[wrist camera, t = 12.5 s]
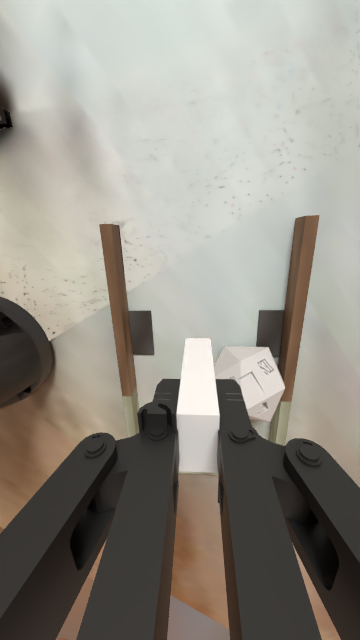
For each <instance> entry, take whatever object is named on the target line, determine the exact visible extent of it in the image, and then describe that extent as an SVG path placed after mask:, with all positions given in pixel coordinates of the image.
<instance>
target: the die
mask: <svg viewBox="0 0 360 640" xmlns="http://www.w3.org/2000/svg"><path fill="white" fill-rule="evenodd" d="M214 373H215V379H234V380H235V381H236V382H237V383H238V384H239V385H240V387H241V391H242V395H243V398H244V401H245V405H246V408H247V412H248V415H249V419H252V420H259V421H266V422H270V421H271V419H272V417H273V414H274V412H275V410H276V408H277V405H278V403H279V401H280V399H281V396H282V394H283V392H284V390H285V385H284V382H283V379H282V377H281V374H280V372H279V370H278V368H277V365H276V363H275V361H274V359H273V356H272V354H271V352H270V350H269V347H236V346H224V348H223V350H222V352H221V354H220V356H219V358H218V360H217V361H216V363H215V365H214Z"/></svg>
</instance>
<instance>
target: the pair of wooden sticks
mask: <svg viewBox="0 0 360 640" xmlns="http://www.w3.org/2000/svg"><path fill="white" fill-rule="evenodd" d="M318 221H319V215H315V216H303V217H299V218H296V221H295V229H294V237H293V246H292V254H291V262H290V271H289V279H288V287H287V295H286V304H285V312H284V310H259V322H258V334H257V346H256V347H269V350H270V352H271V354H272V356H277V357H279V362H278V370H279V372H280V374H281V377H282V379H283V382H284V385H285V390H284V392H283V394H282V396H281V399H280V401H279V403H278V405H277V408H276V410H275V412H274V414H273V417H272V420H271V428H270V436H269V441H270V442H273V443H276V444H280V445H283V446H285V441H286V434H287V427H288V421H289V414H290V407H291V401H292V394H293V387H294V381H295V374H296V367H297V361H298V354H299V348H300V341H301V334H302V328H303V321H304V314H305V308H306V301H307V294H308V288H309V281H310V275H311V268H312V261H313V255H314V248H315V241H316V235H317V228H318ZM100 232H101V240H102V247H103V255H104V262H105V270H106V277H107V285H108V292H109V300H110V307H111V315H112V322H113V329H114V337H115V344H116V352H117V359H118V367H119V374H120V382H121V389H122V397H123V404H124V412H125V419H126V427H127V434H128V438H129V437H132V436H134V435H136V434H138V433H139V426H138V417H137V413H138V411H139V404H138V395H137V386H136V377H135V367H134V358H133V354H148V355H154V345H153V332H152V318H151V311H129V312H128V303H127V294H126V284H125V275H124V266H123V257H122V247H121V238H120V229H119V225H113V224H100ZM283 318H284V320H283ZM129 319H130V321H129ZM282 326H283V329H282ZM130 328H131V331H130ZM281 335H282V337H281ZM131 338H132V340H131ZM280 343H281V345H280ZM132 347H133V349H132ZM279 351H280V353H279ZM178 473H190V474H205V475H218V473H207V472H186V471H179V472H178Z"/></svg>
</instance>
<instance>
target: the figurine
mask: <svg viewBox="0 0 360 640" xmlns="http://www.w3.org/2000/svg"><path fill="white" fill-rule="evenodd" d="M10 127H13V125H12V121H11V116H10V112H8V111H6V110H5V109H3V108H1V107H0V129H3V128H10Z"/></svg>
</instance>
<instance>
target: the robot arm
mask: <svg viewBox="0 0 360 640" xmlns="http://www.w3.org/2000/svg"><path fill="white" fill-rule="evenodd" d="M51 368H52V350H51V346H50V343H49V340H48V338H47V336H46V334H45V332H44V330H43V329H42V327H41V326H40V325H39V323H38V322H37V321H36V320H35V319H34V318H33V316H32V315H30V314H29V313H28V312H27V311H26V310H25V309H23V308H22V307H21V306H19V305H17V304H16V303H14V302H12V301H10V300H8V299H5V298H3V297H0V409H2V408H5V407H7V406H9V405H12V404H14V403H16V402H18V401H21V400H23V399H25V398H26V397H28V396H30V395H31V394H32V393H33V392H35V391H36V390H37V389H38V388H39V387H40V386H41V385H42V384H43V383H44V382H45V381H46V380H47V378H48V376H49V374H50V372H51ZM137 417H138V426H139V433H138V434H136V435H134V436H132V437H129V438H125V439H121V440H117V441H115V439H114V437H113V436H112V435H110V434H108V433H96V434H92V435H90V436H88V437H86V438H85V439H84V440H82V441H81V442H80V443H79V444H78V445H77V446H76V448H75V449H74V450H73V451H72V452H71V453H70V454H69V456H68V457H67V458H66V459H65V460H64V461H63V463H62V464H61V465H60V466H59V467H58V468H57V469H56V471H55V472H54V473H53V474H52V475H51V476H50V477H49V479H48V480H47V481H46V482H45V483H44V484H43V485H42V487H41V488H40V489H39V490H38V491H37V492H36V494H35V495H34V496H33V497H32V498H31V499H30V500H29V502H28V503H27V504H26V505H25V506H24V507H23V508H22V510H21V511H20V512H19V513H18V514H17V515H16V516H15V518H14V519H13V520H12V521H11V522H10V523H9V525H8V526H7V527H6V528H5V529H4V530H3V532H2V533H1V534H0V640H55V639H56V638H57V636H58V634H59V632H60V630H61V627H62V625H63V624H64V621H65V619H66V618H67V616H68V614H69V612H70V610H71V608H72V606H73V604H74V602H75V600H76V598H77V596H78V594H79V592H80V590H81V588H82V586H83V584H84V582H85V580H86V578H87V576H88V574H89V572H90V570H91V568H92V566H93V564H94V562H95V560H96V558H97V556H98V554H99V552H100V550H101V548H102V546H103V544H104V542H105V541H106V544H105V547H104V550H103V554H102V557H101V560H100V563H99V567H98V570H97V573H96V577H95V580H94V583H93V587H92V590H91V593H90V597H89V600H88V604H87V607H86V610H85V613H84V616H83V620H82V623H81V626H80V630H79V633H78V636H77V640H167V631H168V618H169V605H170V592H171V579H172V566H173V553H174V540H175V526H176V513H177V500H178V487H179V485H178V472H179V471H186V472H207V473H218V475H219V483H218V503H220V515H221V528H222V541H223V553H224V566H225V579H226V591H227V604H228V617H229V629H230V640H322V639H321V636H320V632H319V629H318V626H317V623H316V619H315V616H314V613H313V610H312V606H311V603H310V600H309V597H308V593H307V590H306V587H305V584H304V580H303V577H302V574H301V571H300V567H299V564H298V561H297V558H296V554H295V551H294V548H293V545H294V547H295V549H296V551H297V553H298V555H299V557H300V559H301V561H302V563H303V565H304V567H305V569H306V571H307V573H308V575H309V577H310V579H311V581H312V583H313V585H314V587H315V589H316V591H317V593H318V594H319V596H320V598H321V600H322V602H323V604H324V606H325V608H326V610H327V612H328V614H329V616H330V618H331V620H332V622H333V624H334V626H335V628H336V630H337V632H338V634H339V636H340V638H341V640H360V488H359V487H358V486H357V484H356V483H355V482H354V481H353V480H352V479H351V478H350V477H349V475H348V474H347V473H346V472H345V471H344V470H343V469H342V468H341V467H340V465H339V464H338V463H337V462H336V461H335V460H334V459H333V458H332V456H331V455H330V454H329V453H328V452H327V451H326V450H325V449H324V448H322V447H321V446H320V445H318V444H316V443H314V442H313V441H310V440H306V439H298V438H295V439H292V440H290V441H289V442H288V443H287V444H286V446H283V445H280V444H276V443H273V442H270V441H268V440H266V439H264V438H262V437H261V436H259V435H258V433H257V431H256V430H255V429H254V428H253V427H252V425H251V422H250V419H249V415H248V412H247V408H246V405H245V401H244V398H243V395H242V391H241V387H240V385H239V384H238V383H237V382H236V381H235V380H234V379H215V373H214V365H213V357H212V349H211V341H210V338H186V341H185V349H184V357H183V365H182V373H181V379H162V381H161V382H160V383H159V384H158V385H157V388H156V391H155V395H154V399H153V402H150V403H148V404H145V405H144V406H143V407H141V408H140V409H139V411H138V413H137ZM106 539H107V540H106ZM292 543H293V545H292Z"/></svg>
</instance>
